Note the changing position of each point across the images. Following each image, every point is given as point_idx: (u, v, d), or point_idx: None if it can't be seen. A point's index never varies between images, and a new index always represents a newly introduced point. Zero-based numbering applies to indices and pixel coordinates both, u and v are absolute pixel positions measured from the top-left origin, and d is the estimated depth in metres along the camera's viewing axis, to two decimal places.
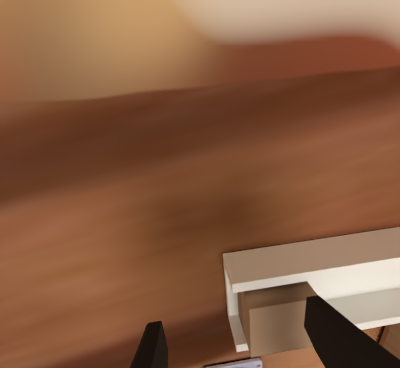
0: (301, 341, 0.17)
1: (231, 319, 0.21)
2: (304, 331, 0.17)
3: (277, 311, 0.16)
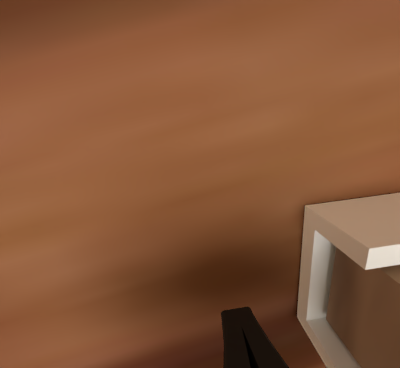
0: None
1: (313, 326, 0.12)
2: None
3: None
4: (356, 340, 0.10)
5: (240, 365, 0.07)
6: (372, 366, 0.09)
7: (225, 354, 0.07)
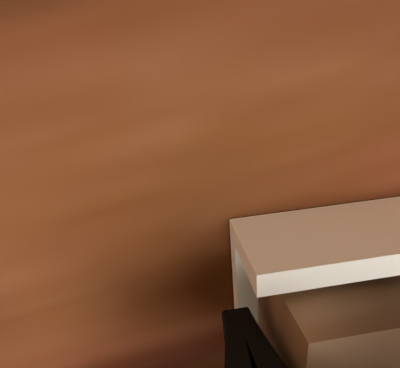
0: None
1: None
2: None
3: (380, 346, 0.06)
4: None
5: (241, 365, 0.07)
6: None
7: (226, 354, 0.07)
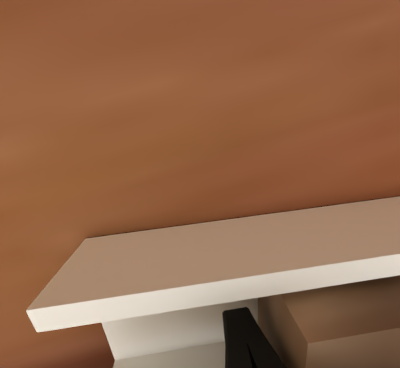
0: None
1: None
2: None
3: (380, 347, 0.06)
4: None
5: (242, 365, 0.07)
6: None
7: (226, 354, 0.07)
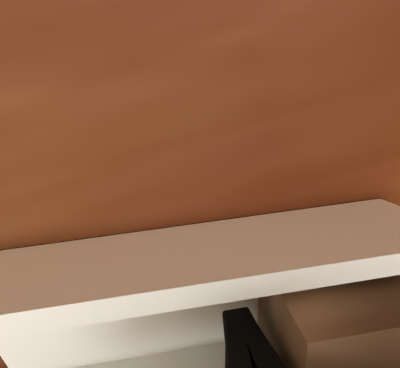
0: None
1: None
2: None
3: (379, 347, 0.06)
4: None
5: (241, 365, 0.07)
6: None
7: (226, 354, 0.07)
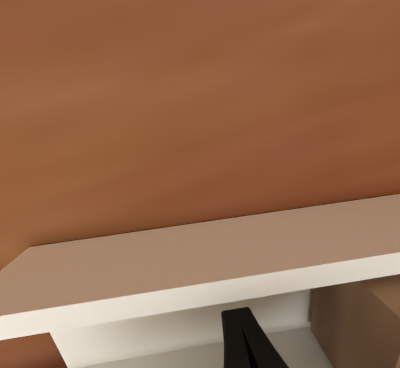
0: None
1: None
2: None
3: None
4: (338, 354, 0.09)
5: (240, 365, 0.07)
6: None
7: (225, 354, 0.07)
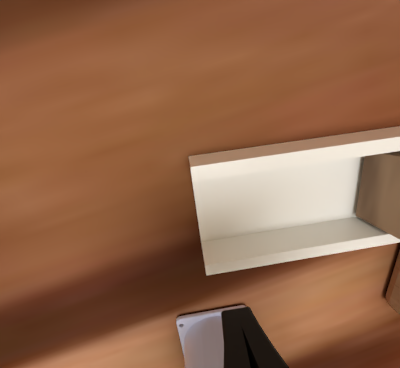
0: None
1: (203, 244, 0.17)
2: None
3: None
4: (379, 213, 0.15)
5: (240, 365, 0.07)
6: (390, 223, 0.15)
7: (225, 354, 0.07)
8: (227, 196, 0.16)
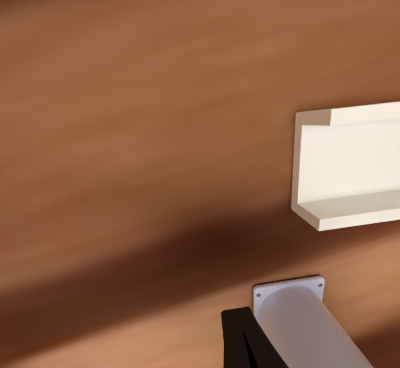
0: None
1: (301, 205, 0.17)
2: None
3: None
4: None
5: (240, 365, 0.07)
6: None
7: (225, 354, 0.07)
8: (331, 155, 0.16)
